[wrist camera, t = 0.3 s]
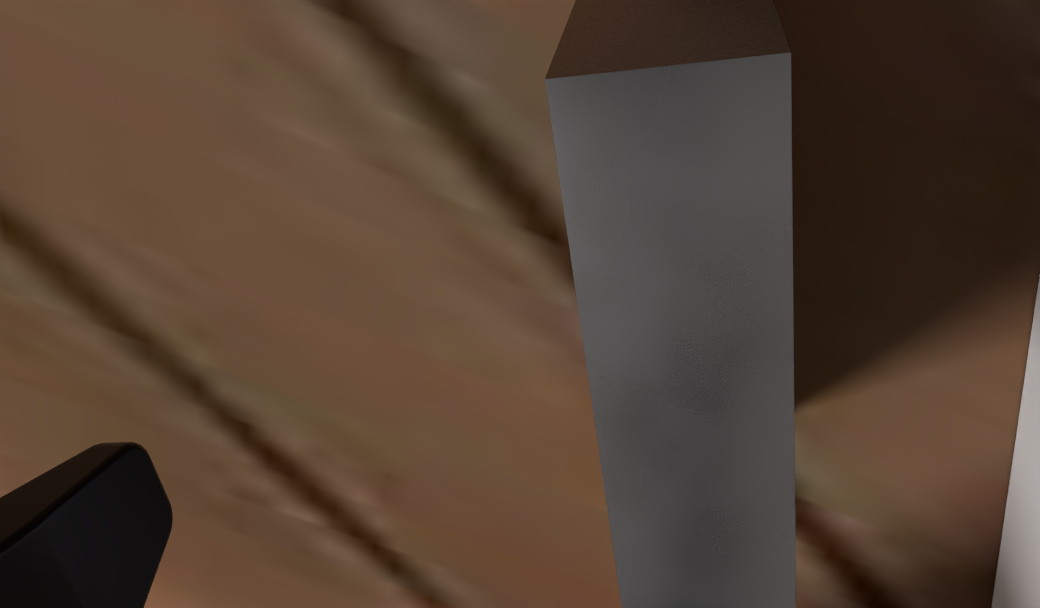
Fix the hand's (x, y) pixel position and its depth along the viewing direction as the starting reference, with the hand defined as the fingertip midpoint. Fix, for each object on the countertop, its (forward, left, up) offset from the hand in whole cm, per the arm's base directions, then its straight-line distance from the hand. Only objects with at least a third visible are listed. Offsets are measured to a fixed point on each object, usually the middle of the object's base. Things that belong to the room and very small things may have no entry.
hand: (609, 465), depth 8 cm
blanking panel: (-4, -1, -13) cm, 14 cm away
